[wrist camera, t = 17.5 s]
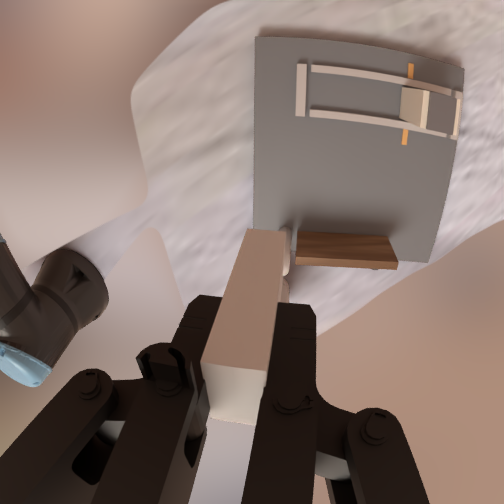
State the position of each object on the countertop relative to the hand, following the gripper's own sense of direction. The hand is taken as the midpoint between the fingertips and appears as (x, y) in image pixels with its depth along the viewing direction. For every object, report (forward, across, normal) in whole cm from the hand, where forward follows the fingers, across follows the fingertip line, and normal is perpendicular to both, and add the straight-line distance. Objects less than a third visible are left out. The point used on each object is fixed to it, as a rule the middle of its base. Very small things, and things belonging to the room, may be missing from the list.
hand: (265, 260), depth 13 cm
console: (+26, +8, -1) cm, 28 cm away
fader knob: (+24, +14, +6) cm, 29 cm away
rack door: (+24, +7, -12) cm, 28 cm away
